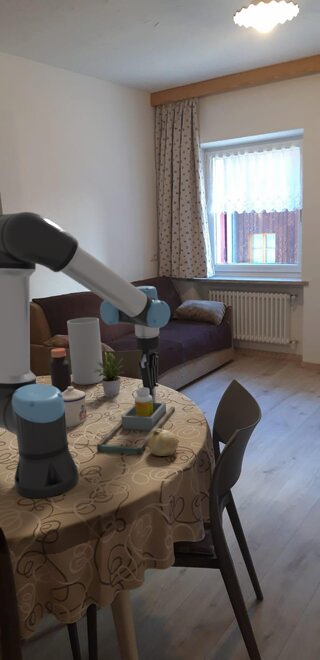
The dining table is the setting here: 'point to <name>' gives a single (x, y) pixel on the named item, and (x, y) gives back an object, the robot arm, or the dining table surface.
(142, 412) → the supplement bottle
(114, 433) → the bay
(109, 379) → the house plant
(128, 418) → the box
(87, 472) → the dining table surface
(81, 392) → the teacup with lid
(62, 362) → the vinegar
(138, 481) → the dining table surface
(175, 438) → the onion
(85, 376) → the cylinder vase
